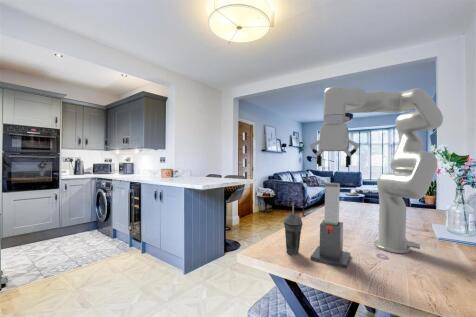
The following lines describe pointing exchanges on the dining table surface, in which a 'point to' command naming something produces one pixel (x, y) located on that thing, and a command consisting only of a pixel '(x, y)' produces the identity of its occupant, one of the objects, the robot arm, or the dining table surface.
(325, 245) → the stand
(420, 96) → the robot arm
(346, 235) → the dining table surface
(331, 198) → the column
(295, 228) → the beverage cup
